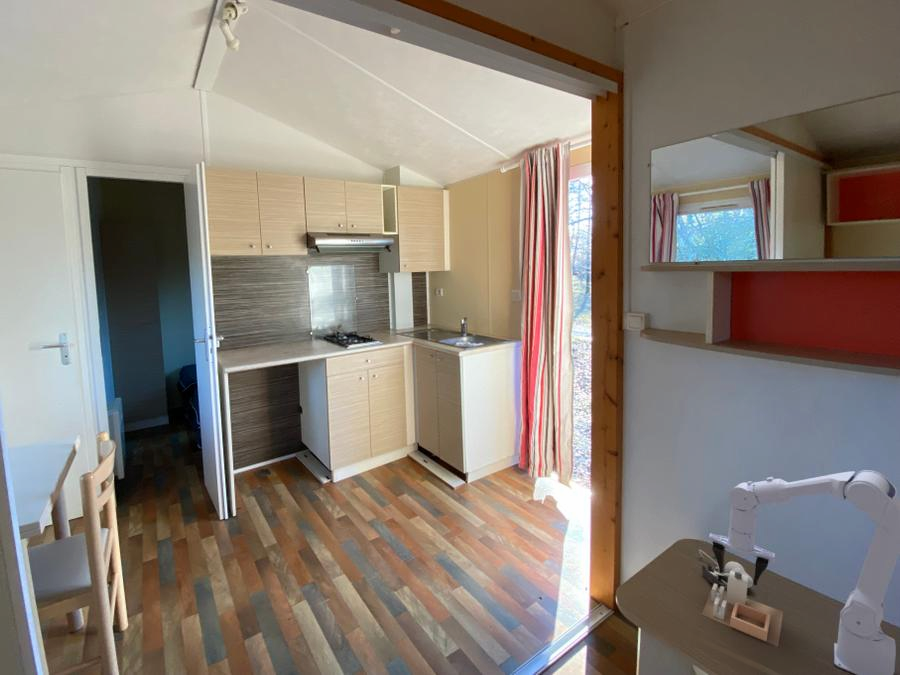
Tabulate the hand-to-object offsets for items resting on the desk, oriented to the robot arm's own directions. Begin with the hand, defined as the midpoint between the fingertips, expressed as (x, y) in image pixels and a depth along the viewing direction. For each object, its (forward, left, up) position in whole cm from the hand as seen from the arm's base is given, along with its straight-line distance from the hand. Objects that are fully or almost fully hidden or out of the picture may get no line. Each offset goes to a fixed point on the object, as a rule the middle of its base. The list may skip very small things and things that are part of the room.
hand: (738, 576), depth 120 cm
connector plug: (0, 0, -7) cm, 7 cm away
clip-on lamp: (+5, -11, -8) cm, 15 cm away
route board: (-2, +4, -8) cm, 9 cm away
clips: (+3, +6, -7) cm, 9 cm away
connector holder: (-4, +8, -8) cm, 12 cm away
